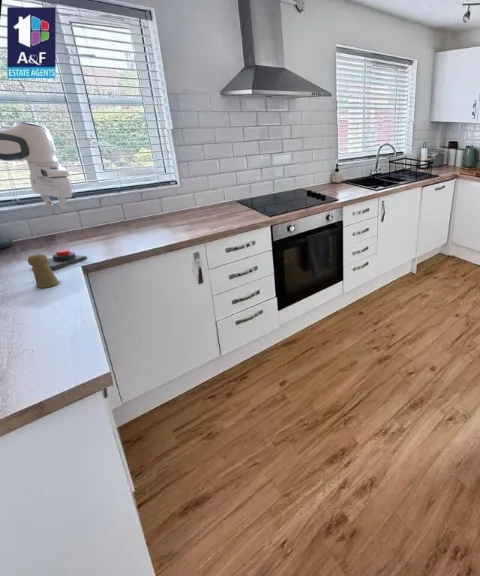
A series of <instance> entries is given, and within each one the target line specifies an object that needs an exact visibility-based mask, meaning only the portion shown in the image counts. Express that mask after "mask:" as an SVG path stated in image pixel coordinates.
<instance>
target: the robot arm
mask: <svg viewBox="0 0 480 576" xmlns="http://www.w3.org/2000/svg"><path fill="white" fill-rule="evenodd" d="M0 160H1V161H6V162H12V161H13V162H14V161H23V160H26V163H27V166H28V169H29V172H30V173H29V181H30V185H31V190H32V191H33V193H34V194H37V195H40V197H41V199H42V200H43V202H44V204H45V206H46V207H54V204H53V201H52V200H51V198H50V197H53V198H54V197H55V198H57V200H58V208H59V209H60V210H67V209H68V206H67V201H68V199H69V198H70V199H71V198H72V197H73V189H72V184H71V181H70V179H69V178H68V177H69V176H70V174H69V171H68V170H67V169H65V167H63V166H62V165H60V162H59V159H58V157H57V155H56V147H55V143H54V140H53V138H52V135H51V133H50V131H49V130H48V129H47V128H46V127H45V126H43V125H41V124H38V123H33V122H32V123H31V122H26V121H20V122H17V124H15V125H13V126H11V127H8V128H6V129H4V128H0Z"/></svg>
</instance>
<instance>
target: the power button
mask: <svg viewBox="0 0 480 576" xmlns="http://www.w3.org/2000/svg"><path fill="white" fill-rule="evenodd" d="M70 252H71V251H70V249H58V250H56V251H55V254H56V253H57V256H64V255H69V254H70Z"/></svg>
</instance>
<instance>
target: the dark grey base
mask: <svg viewBox="0 0 480 576" xmlns="http://www.w3.org/2000/svg"><path fill="white" fill-rule="evenodd" d="M69 252H70V254H69V255H64V256H57V253H56V252H55V253H53V254H52V255H51V257H50V258H48V262H47V264H48V265H49V267H50V268H51V270H52V272H55V271H58V270H60V269H64V268H67V267H69V266H72V265H74V264H77V263H80V262H83V261H85V260H87V259H88V257H87V255H80V254H76V252H74V251H69Z"/></svg>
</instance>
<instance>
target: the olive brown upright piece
mask: <svg viewBox="0 0 480 576" xmlns="http://www.w3.org/2000/svg"><path fill="white" fill-rule="evenodd" d="M48 259H49V258H48V256H46V255H45V254H40V253H39V254H34V255H31V256H29V257H27V263H28V265H30V266H31V267H32V271H33V276H34V280H35V284H36V287H37V288H40V289H44V288H50V287H54V286H57V285H58V284H59V283H60V282H59V280H58V278H57V276H56V275H55V273H54V271H52V270H51V268H50V267H49V265H48V264H47V262H48Z"/></svg>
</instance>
